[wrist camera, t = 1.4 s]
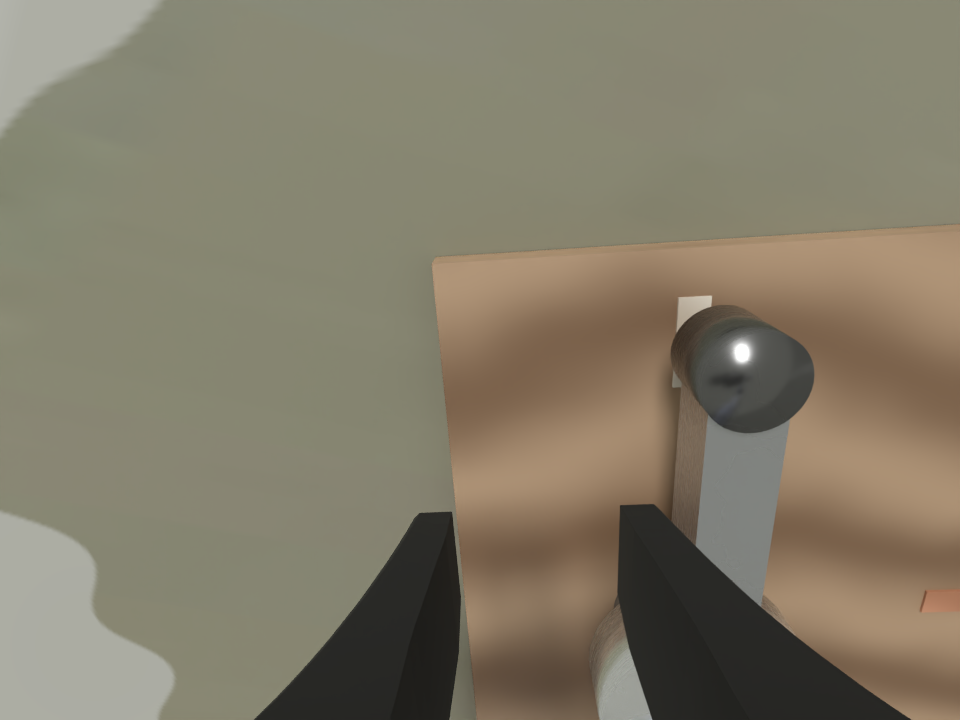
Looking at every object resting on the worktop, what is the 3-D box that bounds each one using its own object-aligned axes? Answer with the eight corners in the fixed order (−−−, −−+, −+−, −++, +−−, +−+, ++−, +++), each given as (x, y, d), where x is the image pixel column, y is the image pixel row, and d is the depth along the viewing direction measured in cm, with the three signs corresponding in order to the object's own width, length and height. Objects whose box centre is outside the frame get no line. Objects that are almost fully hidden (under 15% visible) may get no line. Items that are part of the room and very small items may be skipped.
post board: (965, 713, 24) (1027, 786, 21) (480, 723, 25) (478, 794, 22) (1149, 212, 16) (1283, 224, 14) (435, 257, 17) (424, 276, 15)
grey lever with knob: (776, 721, 20) (811, 792, 18) (588, 725, 20) (599, 795, 18) (856, 297, 14) (923, 323, 12) (591, 311, 15) (608, 340, 12)
